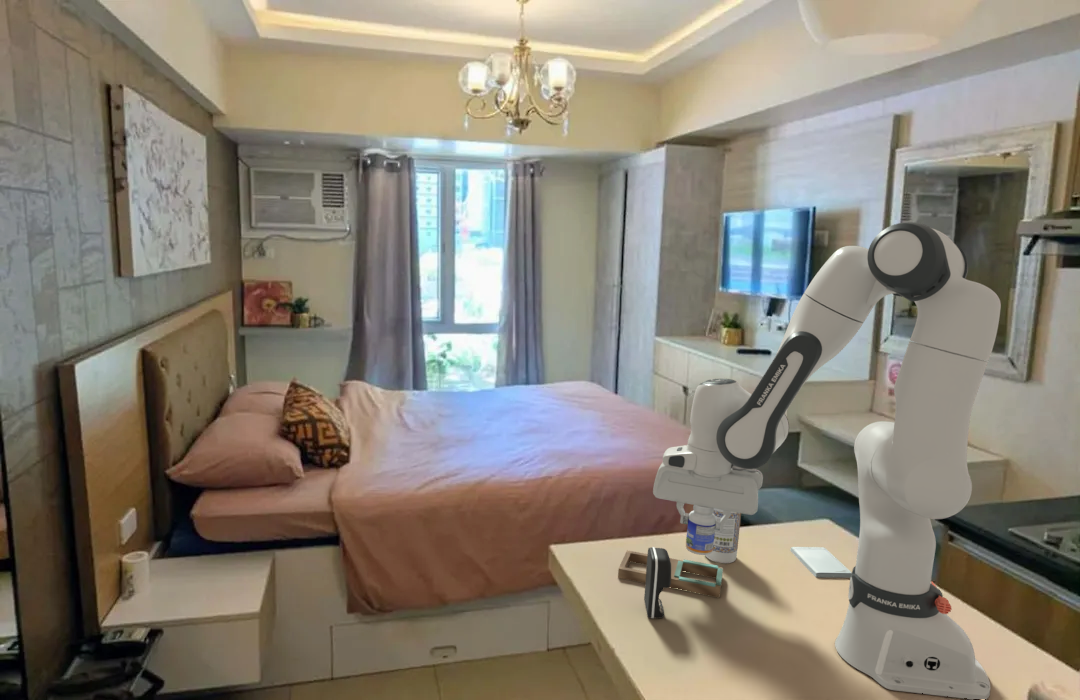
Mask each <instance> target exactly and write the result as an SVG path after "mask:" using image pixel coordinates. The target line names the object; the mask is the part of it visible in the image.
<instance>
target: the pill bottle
mask: <svg viewBox="0 0 1080 700" xmlns="http://www.w3.org/2000/svg"><path fill="white" fill-rule="evenodd" d="M692 505H693V504H692ZM692 509H693V510H691V511H690V512H688V514H689V518H688V524H687V527H686V528H687V529H686V538H685V548H686V549H685V550H687V551H688V552H690V553H692V554H695V555H699V556H700V555H701V556H705V555H708V554H710V553H712V551H713V544H714V535H715V526H716V517H715V515H714V514H713V512H714V508H709V507H704V506H698V505H693V506H692Z"/></svg>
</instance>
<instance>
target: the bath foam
mask: <svg viewBox="0 0 1080 700" xmlns="http://www.w3.org/2000/svg"><path fill="white" fill-rule="evenodd" d="M731 470H732V469H731ZM713 514H714V515H715V517H716V519H721V518H722V517H723V516H724V515H723V510H721V509H715V508H714V512H713ZM741 516H742V513H737V512H732V511H731V514H730V517H729V518H728V519H727V521H726V522H725V523H724V524H723V531H719V530H715V535H714V544H713V551H712V553H710V554H708V555H704V556H705V557H706V558H707V559H708V560H710V561H712V562H715V563H720V564H731V563H733V562H735V561H736V559H737V555H738V548H739V539H740V538H739V536H740V527H741Z"/></svg>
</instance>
